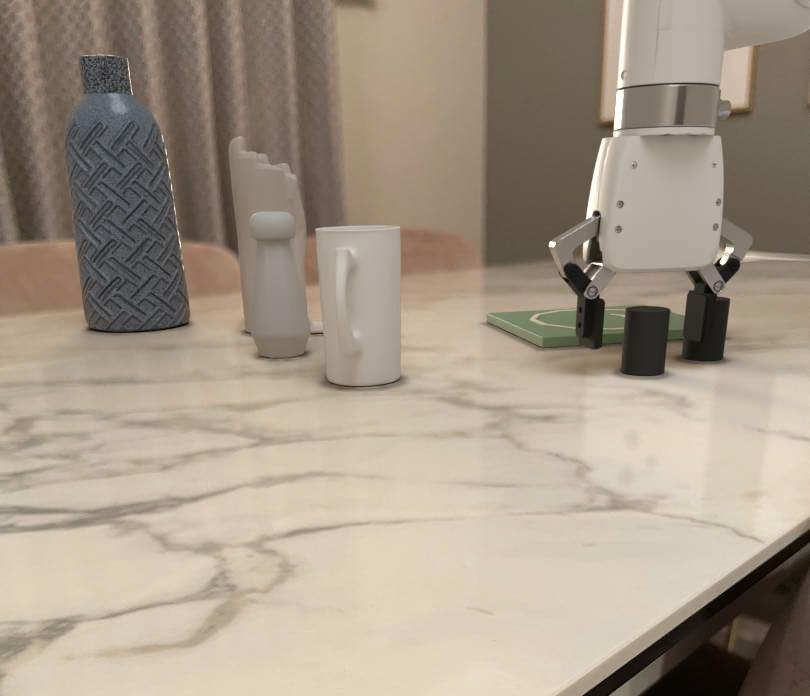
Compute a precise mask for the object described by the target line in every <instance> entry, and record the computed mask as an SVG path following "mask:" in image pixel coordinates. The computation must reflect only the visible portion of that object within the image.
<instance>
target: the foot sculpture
mask: <svg viewBox="0 0 810 696" xmlns="http://www.w3.org/2000/svg"><path fill="white" fill-rule="evenodd" d="M246 148H247V147H246V138H245V137H244V136H242V135H239V136H236V137H234V138H232V139H231V140H230V142H229V146H228V159H229V171H230V172H229V173H230V181H231V182H230V183H231V191H232V192H231V193H232V201H233V209H234V210H233V211H234V217H235V225H236V237H237V247H238V264H239V277H240V289H241V300H242V308H243V309H242V310H243V320H244V322H243V323H244V330H245V332H247V333H250V334H251V331H250V330H251V317H252V303H253V289H254V276H255V262H256V248H257V240H255V239H253V238H251V235H250V230H249V221H250V218H251V217H252V215H253V214H256V213H258V212H273V211H280V212H287V213H290V214H291V215H292V216H293V217H294V220H295V224H296V234H295V237H294V238H292V239H290V243H291V247H292V251H293V256H294V260H295V264H296V268H297V273H298V277H299V281H300V285H301V290H302V294H303V298H304V302H305V307H306V311H307V315H308V301H307V299H308V298H307V283H306V270H305V269H306V268H305V267H306V266H305V255H306V252H307V247H308V243H307V241H308V239H307V221H306V216H305V210H304V206H303V202H302V198H301V192H300V188H299V181H298V176H297V175H296V174H294V173H292V171H291V168H290V164H289V163H287V162H283V163H278V164H274V165H273V164H271V163H270V161H269V156H268V155H267V154H265V153H258V152H256V151H247V149H246ZM308 316H309V315H308ZM309 324H310V328H311V330H310V334H323V324H322V320H310V319H309Z"/></svg>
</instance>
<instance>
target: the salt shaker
mask: <svg viewBox="0 0 810 696" xmlns="http://www.w3.org/2000/svg"><path fill="white" fill-rule="evenodd" d="M249 230H250V235H251V238H253V239H255V240H257V248H256V262H255V276H254V289H253V303H252V317H251V330H250V331H251V333H250V335H251V338H252V340H253V343H254V344H255V347H256V348H257V351H258V353H259V354H260V356H261V357H264V358H269V359H283V358H294V357H298V356H302V355H304V354H305V350H306V347H307V344H308V341H309V339H310V336H311V333H310V330H311V328H310V324H309V320H310V319H309V315H307V313H308V310H307V311H306V307H305V302H304V298H303V294H302V290H301V285H300V281H299V277H298V273H297V268H296V264H295V260H294V256H293V251H292V247H291V243H290V239H292V238H294V237H295V234H296V224H295V220H294V217H293V216H292V215H291V214H290V213H287V212H280V211H273V212H258V213H256V214H253V215H252V217H251V218H250V221H249Z"/></svg>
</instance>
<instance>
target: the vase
mask: <svg viewBox="0 0 810 696" xmlns="http://www.w3.org/2000/svg"><path fill="white" fill-rule="evenodd" d="M77 62H78V67H79V75H80V81H81V88H82V89H81V90H82V94H83V95H82V96H81V98H80V99H79V100H78V101H77V102H76V103H75V104H74V105H73V107H72V108H71V109H70V111H69V113H68V115H67V117H66V120H65V123H64V128H63V155H64V164H65V171H66V181H67V187H68V196H69V205H70V212H71V219H72V228H73V236H74V243H75V252H76V259H77V268H78V275H79V283H80V290H81V298H82V299H81V300H82V307H83V314H84V319H85V322H86V324H87V326H88V327H89V328H90V329H93V330H97V331H101V332H111V333H112V332H113V333H131V332H133V333H134V332H149V331H158V330H164V329H165V330H166V329H171V328H175V327H179V326H182V325H184V324H186V323H188V322H189V321H190V318H191V308H190V300H189V293H188V286H187V279H186V274H185V272H186V271H185V266H184V260H183V252H182V247H181V246H182V245H181V240H180V239H181V238H180V232H179V225H178V219H177V213H176V206H175V199H174V192H173V185H172V180H171V173H170V165H169V159H168V154H167V149H166V143H165V141H164V136H163V134H162V129H160V126H159V123H158V121H157V120H156V118H155V117H154V116H153V114H152V113H151V112H150V110H149V109H148V108H147V107H146V106H144V104H142V103H141V102H140V101H139V100H138V99H136V98H135V96H134V95H133V89H132V88H133V87H132V81H131V75H130V65H129V59H128V58H127V57H125V56H122V55H121V56H120V55H111V54H88V55H80V56H79V57H78V58H77Z"/></svg>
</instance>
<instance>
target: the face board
mask: <svg viewBox="0 0 810 696" xmlns="http://www.w3.org/2000/svg"><path fill="white" fill-rule="evenodd" d="M634 306H647V305H645V304H631V305H628V304H627V305H611V306H605V311H604V324H603V338H602V345H609V344H610V345H611V344H623V335H624V323H625V310H626V308H628V307H634ZM576 312H577V307H575V308H556V309H538V310H537V309H536V310H535V309H534V310H519V311H497V312H487V313H486V323H489V324H490V325H493V326H495V327H497V328H500V329H502V330H504V331H506V332H508V333H511V334H513V335H515V336H517V337H518V338H521V339H523V340H525V341H527V342H529V343H531V344H533V345H536V346H538V347H540V348H542V349H546V348H563V347H578V346H579V347H580V346H581V345H580V344H579V337H577V336H576V331H575V328H576ZM684 318H685V314H680V313H676V312H673V311H670V320H669V330H668V340H667V341H673V340H683V338H684V337H683V327H684Z"/></svg>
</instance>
